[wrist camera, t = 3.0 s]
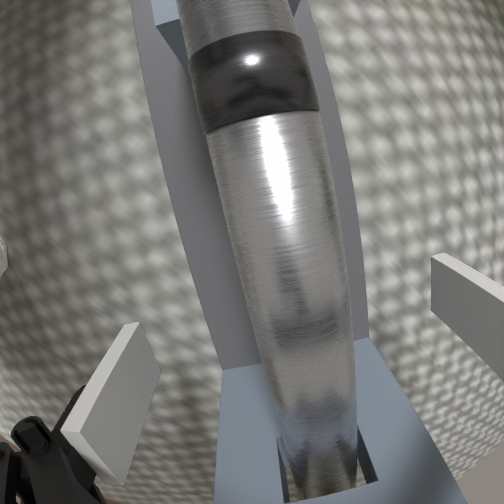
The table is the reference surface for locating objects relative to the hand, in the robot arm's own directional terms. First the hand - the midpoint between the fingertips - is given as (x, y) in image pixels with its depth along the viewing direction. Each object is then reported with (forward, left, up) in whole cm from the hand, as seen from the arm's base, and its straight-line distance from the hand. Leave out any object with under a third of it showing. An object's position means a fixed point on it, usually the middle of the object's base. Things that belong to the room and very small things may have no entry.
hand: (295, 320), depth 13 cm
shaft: (0, 0, +2) cm, 2 cm away
